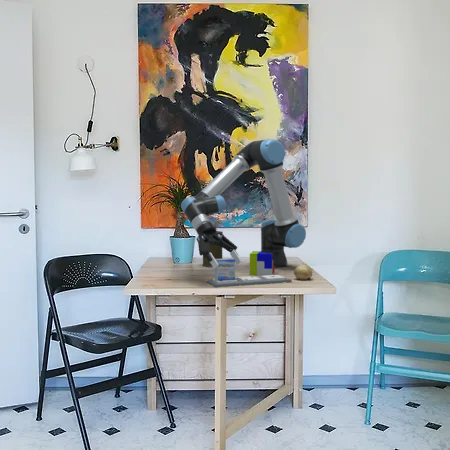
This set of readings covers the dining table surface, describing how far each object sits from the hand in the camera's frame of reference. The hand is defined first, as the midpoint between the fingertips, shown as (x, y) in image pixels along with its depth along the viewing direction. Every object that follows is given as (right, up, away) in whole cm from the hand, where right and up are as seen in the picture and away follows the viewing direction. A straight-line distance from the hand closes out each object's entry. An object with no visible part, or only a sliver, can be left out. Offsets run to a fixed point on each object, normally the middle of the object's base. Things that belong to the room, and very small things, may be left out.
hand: (228, 265), depth 233 cm
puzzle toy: (+16, -6, +28) cm, 33 cm away
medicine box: (-1, -6, +2) cm, 7 cm away
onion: (+33, -7, +13) cm, 36 cm away
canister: (-8, -4, +56) cm, 57 cm away
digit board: (+9, -8, +6) cm, 13 cm away
